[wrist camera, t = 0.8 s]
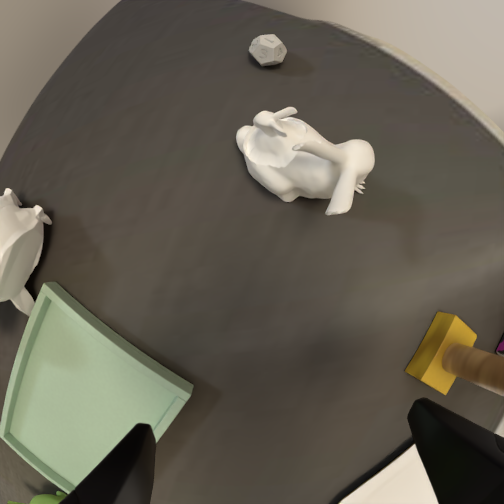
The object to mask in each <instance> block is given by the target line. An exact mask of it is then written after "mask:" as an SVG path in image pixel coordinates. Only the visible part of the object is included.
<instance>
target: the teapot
mask: <svg viewBox="0 0 504 504" xmlns="http://www.w3.org/2000/svg"><path fill="white" fill-rule="evenodd" d="M56 495H57V496H56ZM56 495H52V494H42V495H37V496H35V497H34V498H33V499H32V500H31V502H30V504H58V503H59V502H61V501H62V500H63V499H64V498H65V497H66V496H67V495H66V494H65V493H63V492H60V491H57V492H56ZM7 504H24V503H18V502H12V501H8V503H7Z"/></svg>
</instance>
